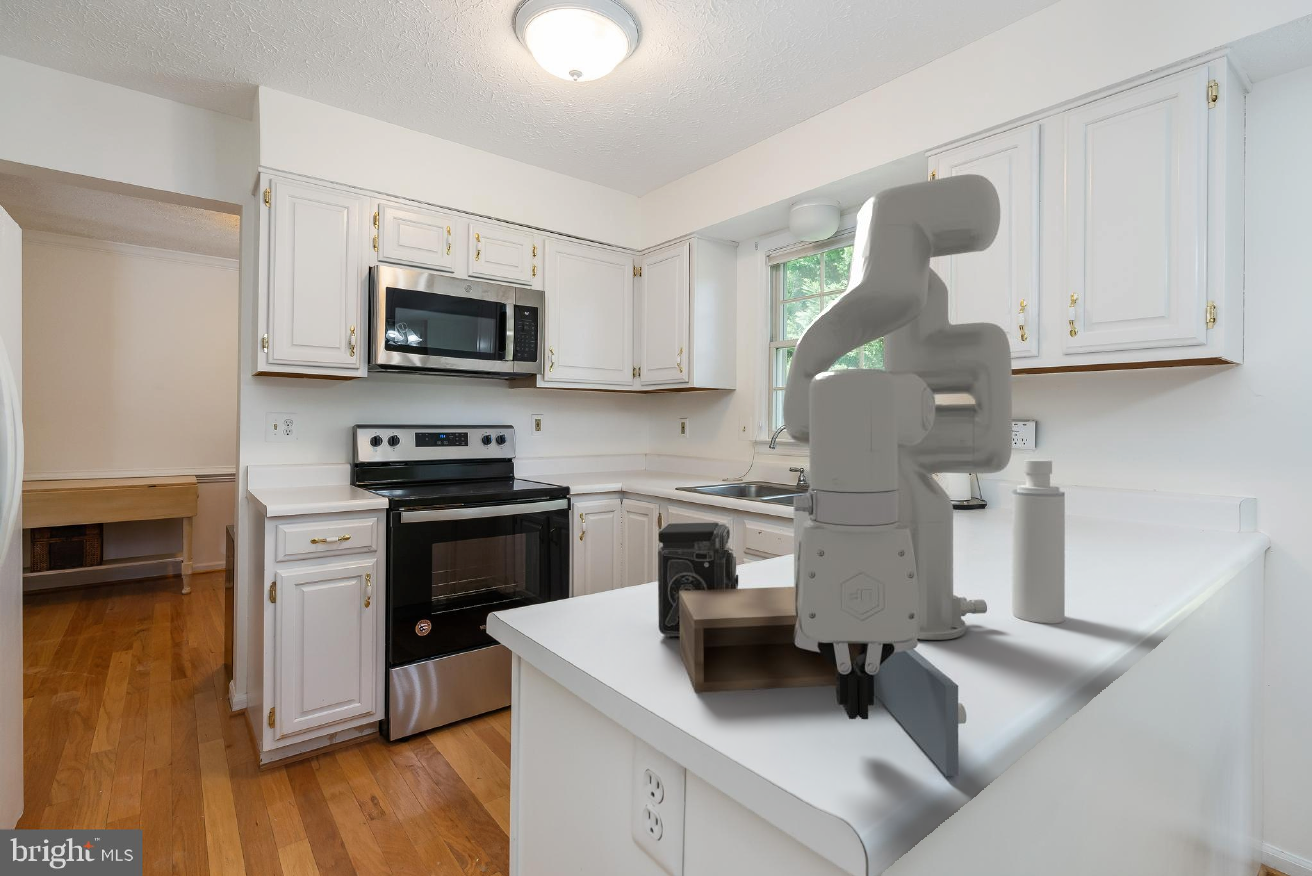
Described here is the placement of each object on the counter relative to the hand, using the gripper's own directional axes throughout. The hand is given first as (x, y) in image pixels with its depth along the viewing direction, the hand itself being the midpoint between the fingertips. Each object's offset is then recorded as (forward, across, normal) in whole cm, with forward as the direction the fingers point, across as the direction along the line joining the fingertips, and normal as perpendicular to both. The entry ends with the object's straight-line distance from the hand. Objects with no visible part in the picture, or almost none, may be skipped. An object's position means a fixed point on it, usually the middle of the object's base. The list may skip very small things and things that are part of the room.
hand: (854, 711), depth 57 cm
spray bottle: (+4, +36, +40) cm, 54 cm away
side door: (+3, +6, +4) cm, 8 cm away
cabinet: (+3, -6, +19) cm, 20 cm away
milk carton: (+4, +6, +48) cm, 49 cm away
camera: (+4, -14, +32) cm, 35 cm away
